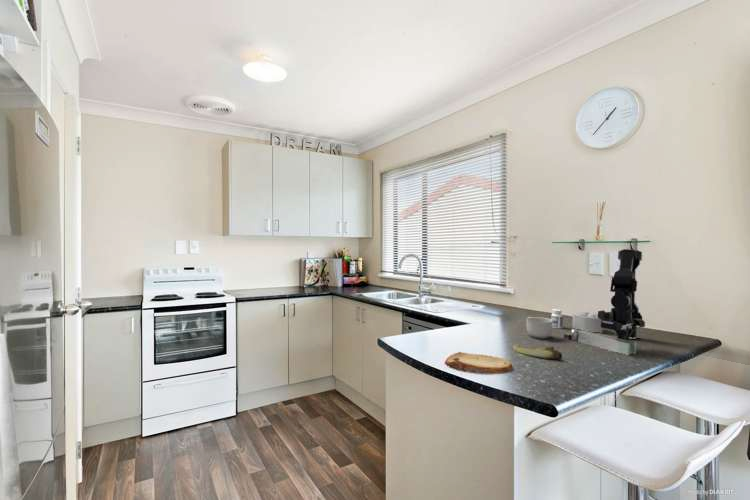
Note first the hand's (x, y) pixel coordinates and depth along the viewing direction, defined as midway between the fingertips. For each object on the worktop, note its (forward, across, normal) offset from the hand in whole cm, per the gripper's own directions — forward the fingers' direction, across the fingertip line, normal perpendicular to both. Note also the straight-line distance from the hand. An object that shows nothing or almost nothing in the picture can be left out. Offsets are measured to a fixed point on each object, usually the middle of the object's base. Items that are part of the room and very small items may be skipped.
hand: (622, 345), depth 141 cm
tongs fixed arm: (+1, +6, -7) cm, 9 cm away
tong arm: (+2, +3, -4) cm, 5 cm away
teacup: (+2, +16, -28) cm, 32 cm away
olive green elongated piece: (+2, +38, -8) cm, 39 cm away
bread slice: (+2, +68, -4) cm, 69 cm away
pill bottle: (+2, -8, -37) cm, 38 cm away
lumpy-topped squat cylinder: (+2, -19, -28) cm, 34 cm away
